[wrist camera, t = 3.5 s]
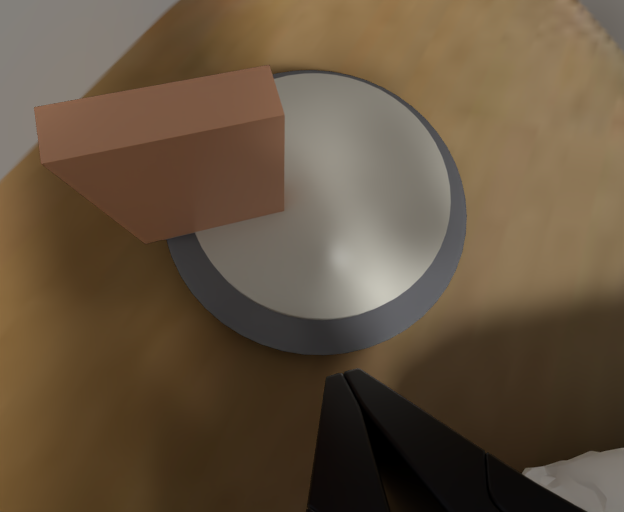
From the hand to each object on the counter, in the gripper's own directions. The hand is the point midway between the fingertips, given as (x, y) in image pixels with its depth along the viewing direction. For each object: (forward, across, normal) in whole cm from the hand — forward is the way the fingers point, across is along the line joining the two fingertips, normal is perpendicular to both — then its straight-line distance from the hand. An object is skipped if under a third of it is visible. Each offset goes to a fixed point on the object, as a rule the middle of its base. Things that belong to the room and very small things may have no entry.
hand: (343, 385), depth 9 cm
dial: (+11, +1, +1) cm, 11 cm away
